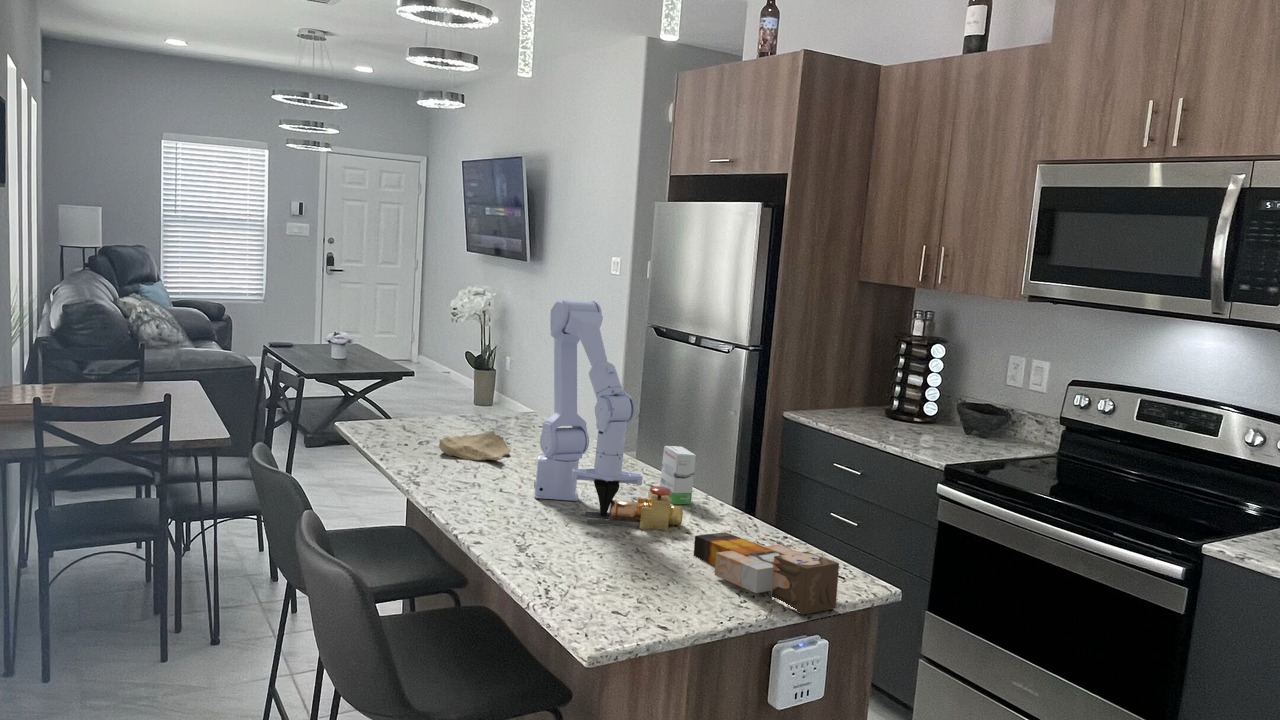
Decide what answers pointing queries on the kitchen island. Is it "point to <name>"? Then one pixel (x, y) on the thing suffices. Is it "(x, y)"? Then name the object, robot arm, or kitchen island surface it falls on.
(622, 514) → the coupling
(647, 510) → the valve
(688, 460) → the ink box
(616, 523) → the rails
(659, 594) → the kitchen island surface
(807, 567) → the toy
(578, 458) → the robot arm
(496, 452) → the rock
